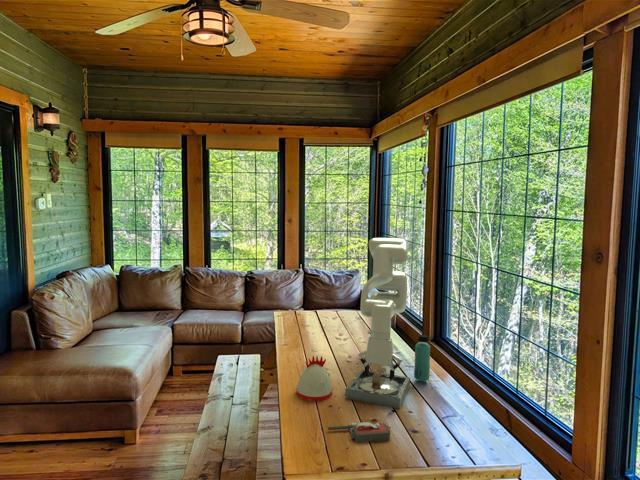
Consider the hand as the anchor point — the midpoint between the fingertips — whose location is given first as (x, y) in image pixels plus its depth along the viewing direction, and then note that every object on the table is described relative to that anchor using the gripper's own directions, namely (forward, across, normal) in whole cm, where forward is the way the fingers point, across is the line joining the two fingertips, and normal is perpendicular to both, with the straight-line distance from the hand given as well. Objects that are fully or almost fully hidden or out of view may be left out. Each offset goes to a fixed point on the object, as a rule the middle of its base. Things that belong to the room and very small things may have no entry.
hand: (379, 377), depth 174 cm
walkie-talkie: (+7, +2, -33) cm, 34 cm away
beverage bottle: (+6, +14, +18) cm, 24 cm away
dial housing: (+6, 0, 0) cm, 6 cm away
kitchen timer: (+7, -23, -11) cm, 26 cm away
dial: (+4, 0, 0) cm, 4 cm away
